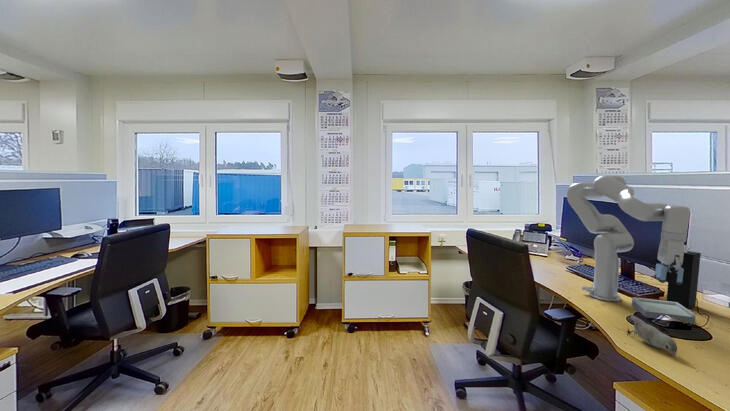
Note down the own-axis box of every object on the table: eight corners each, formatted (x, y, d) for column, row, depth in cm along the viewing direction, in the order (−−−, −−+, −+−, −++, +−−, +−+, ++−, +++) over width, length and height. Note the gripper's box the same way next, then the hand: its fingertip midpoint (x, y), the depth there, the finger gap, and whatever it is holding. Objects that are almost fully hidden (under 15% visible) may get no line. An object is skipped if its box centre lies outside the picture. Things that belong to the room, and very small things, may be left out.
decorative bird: (667, 358, 106) (669, 336, 105) (623, 334, 122) (624, 315, 121) (682, 357, 107) (684, 335, 106) (636, 334, 123) (638, 314, 122)
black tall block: (688, 309, 146) (694, 247, 144) (665, 303, 153) (671, 244, 151) (695, 306, 150) (701, 245, 148) (673, 300, 157) (678, 242, 155)
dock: (644, 318, 136) (645, 308, 136) (631, 306, 149) (632, 297, 149) (694, 324, 131) (695, 314, 130) (676, 311, 144) (677, 302, 143)
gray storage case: (658, 282, 134) (660, 266, 133) (653, 278, 138) (655, 263, 137) (682, 285, 131) (684, 269, 130) (676, 281, 135) (678, 265, 135)
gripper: (653, 231, 142) (647, 272, 144) (671, 239, 126) (665, 285, 128) (675, 233, 139) (669, 275, 141) (697, 241, 123) (690, 288, 125)
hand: (667, 279), depth 134 cm, fingers closed on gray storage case, 5 cm apart
